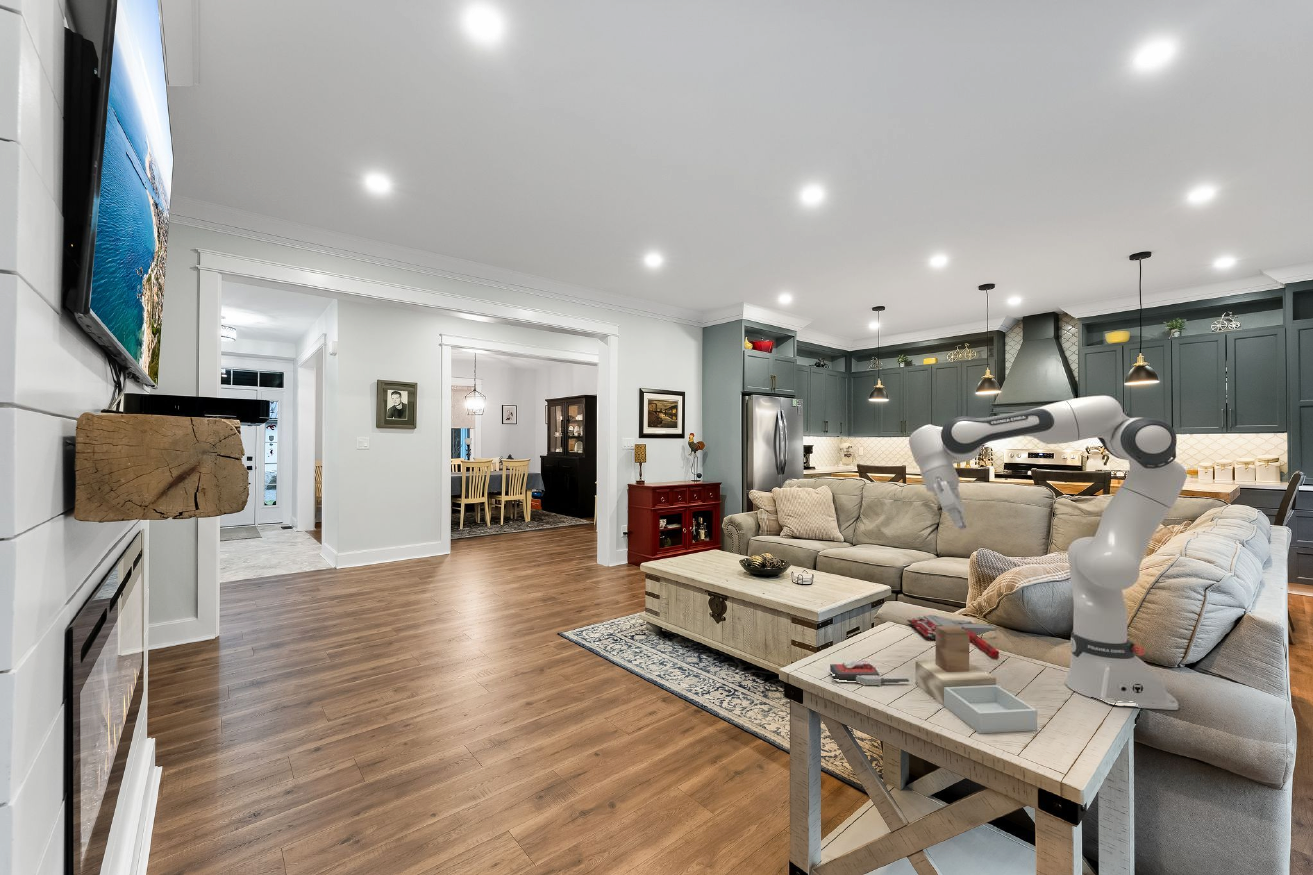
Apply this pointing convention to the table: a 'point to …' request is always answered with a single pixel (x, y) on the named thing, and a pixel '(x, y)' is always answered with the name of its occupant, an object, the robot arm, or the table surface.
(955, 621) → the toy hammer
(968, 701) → the grey bin
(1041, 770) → the table surface
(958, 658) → the walnut block
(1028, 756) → the table surface
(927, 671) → the pale wood block
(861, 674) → the toy chainsaw
